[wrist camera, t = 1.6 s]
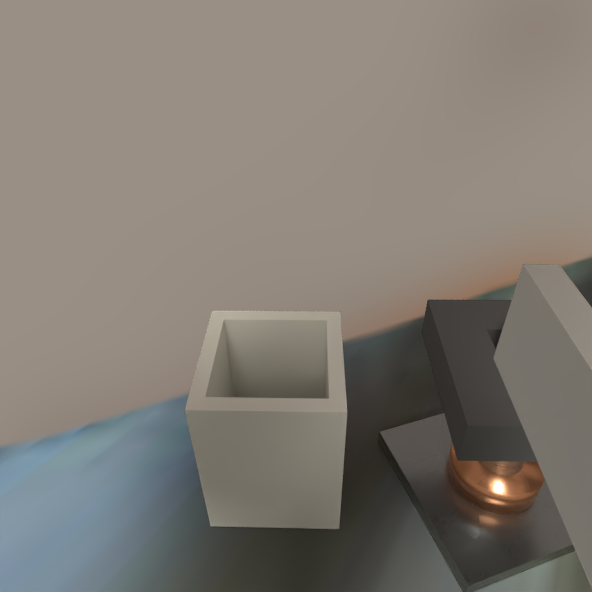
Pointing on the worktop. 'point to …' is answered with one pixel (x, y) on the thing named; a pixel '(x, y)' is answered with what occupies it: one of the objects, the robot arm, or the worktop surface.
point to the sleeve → (270, 419)
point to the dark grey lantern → (476, 505)
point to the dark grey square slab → (474, 379)
